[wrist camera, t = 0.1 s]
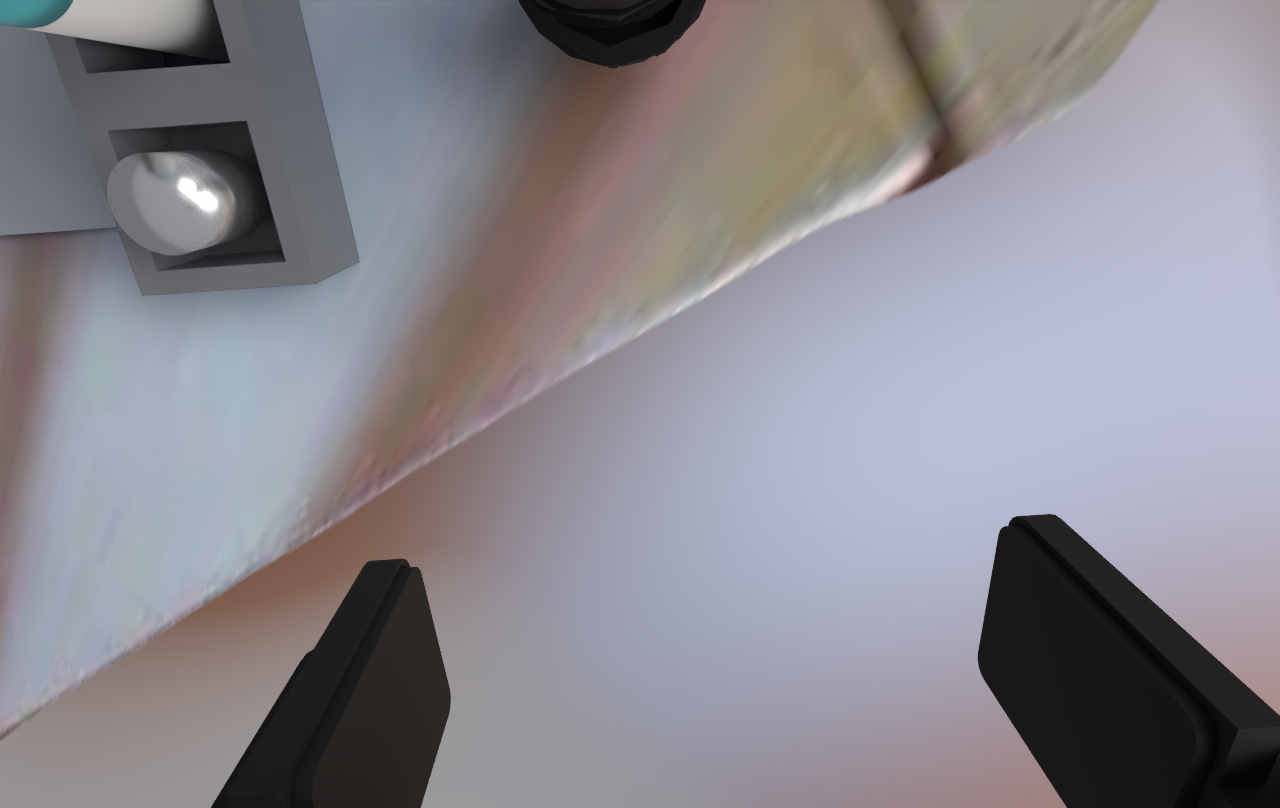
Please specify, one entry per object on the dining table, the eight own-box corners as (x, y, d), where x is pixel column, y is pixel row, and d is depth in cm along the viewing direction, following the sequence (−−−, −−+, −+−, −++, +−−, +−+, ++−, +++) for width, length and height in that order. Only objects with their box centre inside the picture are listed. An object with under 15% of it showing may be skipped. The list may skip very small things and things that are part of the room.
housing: (92, -92, 32) (-20, -138, 27) (273, -106, 32) (199, -155, 26) (211, 272, 39) (142, 295, 34) (359, 261, 39) (315, 283, 34)
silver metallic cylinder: (166, 152, 33) (90, 156, 28) (252, 146, 33) (191, 149, 28) (195, 241, 34) (129, 258, 30) (277, 235, 34) (224, 252, 30)
